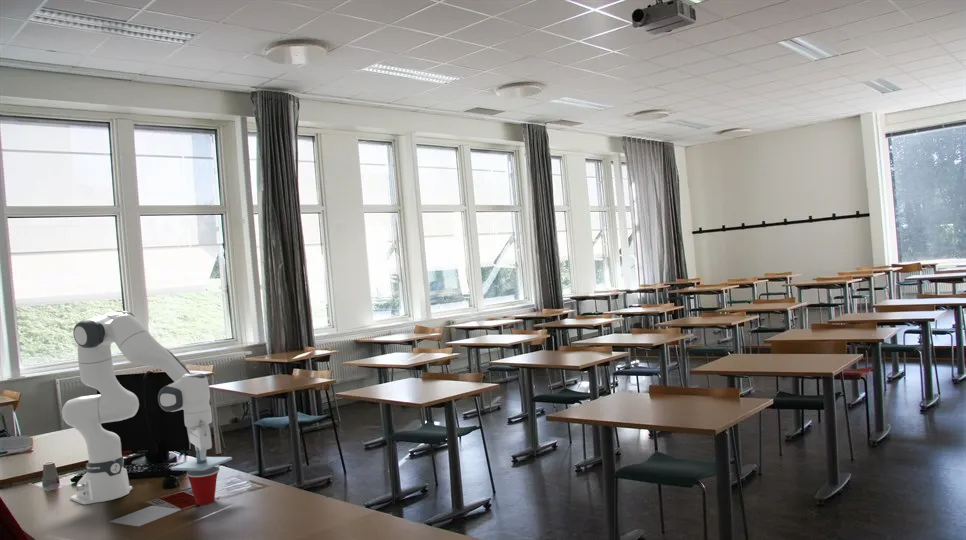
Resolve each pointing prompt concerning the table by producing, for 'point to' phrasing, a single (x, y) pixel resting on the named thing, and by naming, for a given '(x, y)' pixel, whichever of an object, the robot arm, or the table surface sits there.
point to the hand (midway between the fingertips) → (201, 458)
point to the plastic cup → (203, 485)
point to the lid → (201, 463)
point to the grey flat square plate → (145, 515)
